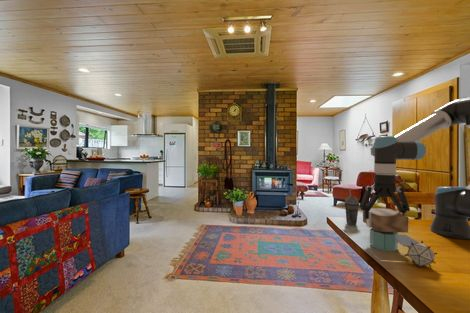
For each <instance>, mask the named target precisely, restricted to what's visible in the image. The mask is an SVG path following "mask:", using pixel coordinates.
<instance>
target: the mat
mask: <svg viewBox="0 0 470 313" xmlns="http://www.w3.org/2000/svg"><path fill="white" fill-rule="evenodd" d="M411 242H412V243H413V244H416V243H420V242H419V241H418V240H416V239H414V238H412V237H410V236H409V235H407V234H401V233H398V244H400V245H401V246H403V247H407V246H409V247H410V246H411V245H412V244H411ZM407 248H408V247H407Z"/></svg>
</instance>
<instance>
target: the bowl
mask: <svg viewBox="0 0 470 313" xmlns="http://www.w3.org/2000/svg"><path fill="white" fill-rule="evenodd" d="M398 234H399V232H382V231H376V230H375V229H373V228H372V227H371V228H370V229H369V244H370V246H371V247H372V248H374V249H376V250H379V251H384V252H396V251H397V249H398V247H399V243H398Z"/></svg>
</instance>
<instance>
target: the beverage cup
mask: <svg viewBox="0 0 470 313" xmlns="http://www.w3.org/2000/svg"><path fill="white" fill-rule="evenodd" d="M348 191H349V196H347V197H346V198H345V200H344V207H345V218H346V220H345V221H346V225H348V226H352V227H354V226H357V223H358V222H357V221H358V214H359V208H360V201H359V199H358V198H357V197H356V196H354V195H352V193H351V188H349V190H348Z"/></svg>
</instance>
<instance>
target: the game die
mask: <svg viewBox="0 0 470 313" xmlns="http://www.w3.org/2000/svg"><path fill="white" fill-rule="evenodd" d="M411 244H412V245H411V246H410V247H409V246H407V248H408V251H407V253H406V254H404V256H406V257H407V256H408V257H409V258H410V260H411V262H412V263H415V264H416V265H418V267H417V268H418V269H420V268H421V267H422V266H423V267H424V266H428V267H432V265H431V264H436V261H434V260H435V255H438V252H434V251H433V250H432V249H431V246H429V245H428V246H427V245H426V244H425V243H424V241H423V240H421V241H420V242H419V243H416V244H413V243H412V242H411Z"/></svg>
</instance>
